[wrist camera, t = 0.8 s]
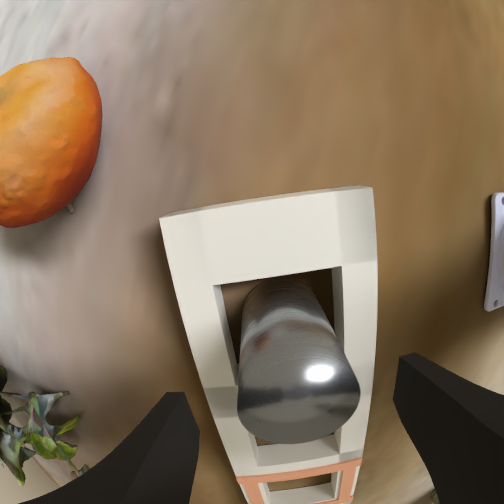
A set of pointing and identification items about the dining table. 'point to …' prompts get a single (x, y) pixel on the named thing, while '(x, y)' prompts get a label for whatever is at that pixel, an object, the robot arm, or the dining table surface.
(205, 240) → the hole rail
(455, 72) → the dining table surface
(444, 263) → the dining table surface
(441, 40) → the dining table surface
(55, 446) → the passion flower
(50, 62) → the fruit
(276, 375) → the metal peg
